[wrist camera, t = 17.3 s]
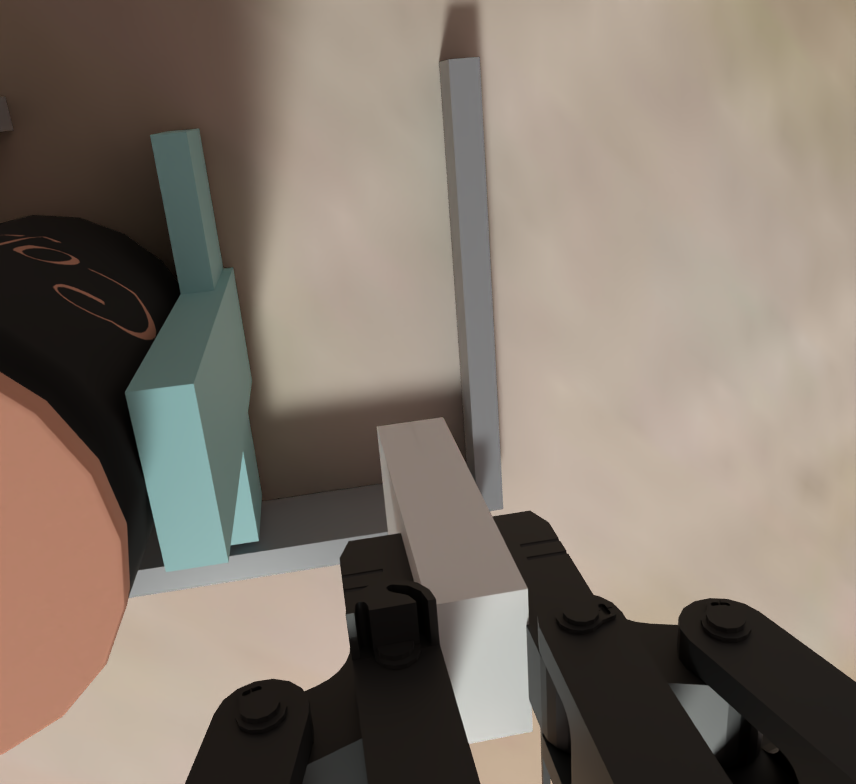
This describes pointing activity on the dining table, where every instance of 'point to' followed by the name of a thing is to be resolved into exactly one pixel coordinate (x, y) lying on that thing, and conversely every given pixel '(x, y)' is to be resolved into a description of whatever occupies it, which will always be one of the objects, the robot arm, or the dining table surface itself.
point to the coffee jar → (69, 455)
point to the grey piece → (365, 506)
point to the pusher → (196, 383)
